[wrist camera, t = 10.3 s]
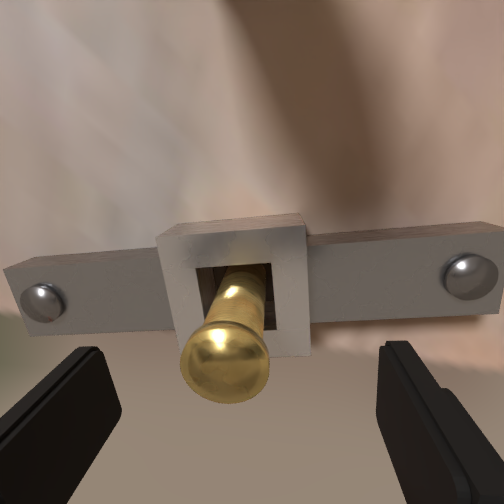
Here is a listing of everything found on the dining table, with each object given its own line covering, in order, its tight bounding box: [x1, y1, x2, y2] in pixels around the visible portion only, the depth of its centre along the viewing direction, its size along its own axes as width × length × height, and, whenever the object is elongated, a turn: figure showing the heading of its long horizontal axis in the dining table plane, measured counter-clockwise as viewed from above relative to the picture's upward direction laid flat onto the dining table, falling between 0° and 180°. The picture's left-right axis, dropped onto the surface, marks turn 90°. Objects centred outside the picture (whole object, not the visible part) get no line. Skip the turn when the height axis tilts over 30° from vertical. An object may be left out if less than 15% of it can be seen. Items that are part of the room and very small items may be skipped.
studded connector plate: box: [3, 213, 504, 358], centre depth 17 cm, size 30×8×4 cm, turn 96°
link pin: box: [180, 263, 269, 404], centre depth 14 cm, size 3×3×9 cm
